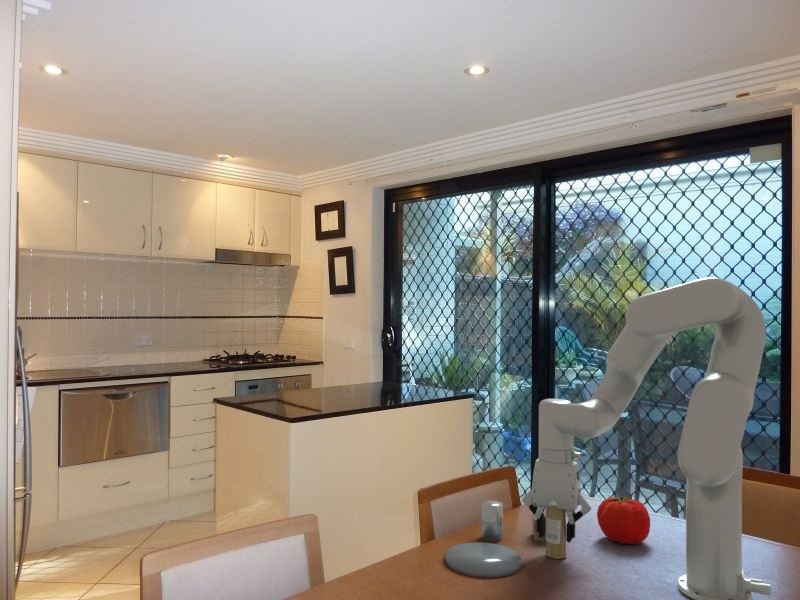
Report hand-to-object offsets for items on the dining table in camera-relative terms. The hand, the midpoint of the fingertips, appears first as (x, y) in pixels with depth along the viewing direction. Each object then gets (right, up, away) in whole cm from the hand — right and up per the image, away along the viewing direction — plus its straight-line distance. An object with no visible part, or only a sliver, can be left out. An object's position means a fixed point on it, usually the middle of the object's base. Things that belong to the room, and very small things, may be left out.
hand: (555, 537), depth 135 cm
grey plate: (-17, -4, -4) cm, 17 cm away
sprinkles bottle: (0, -4, 0) cm, 4 cm away
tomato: (+18, -5, +9) cm, 21 cm away
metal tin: (-12, -4, +11) cm, 17 cm away
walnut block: (0, -4, +11) cm, 12 cm away
